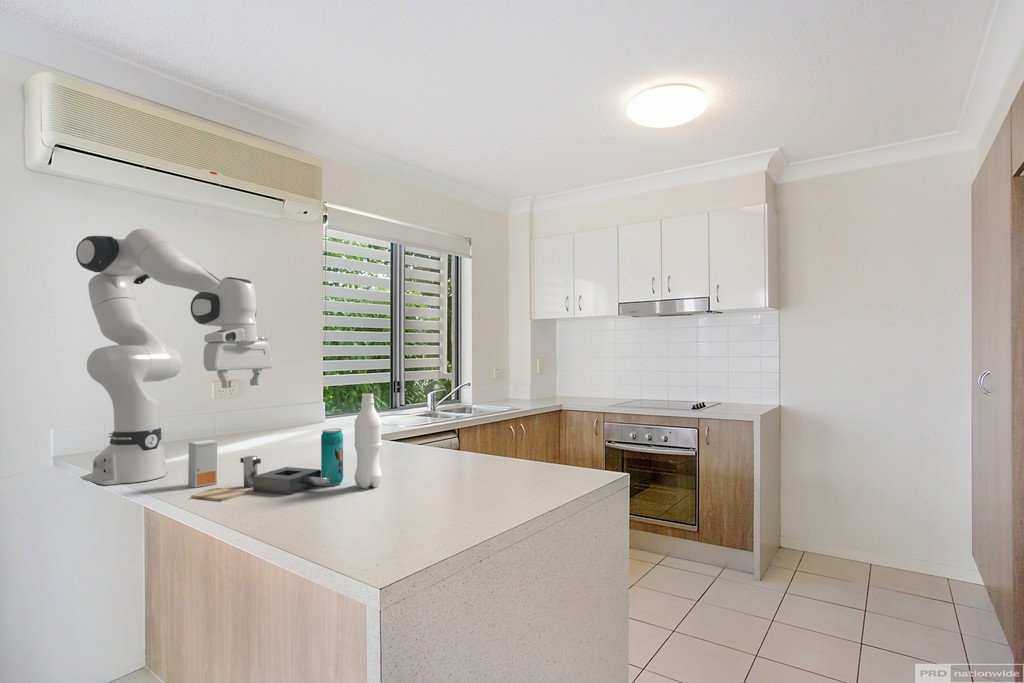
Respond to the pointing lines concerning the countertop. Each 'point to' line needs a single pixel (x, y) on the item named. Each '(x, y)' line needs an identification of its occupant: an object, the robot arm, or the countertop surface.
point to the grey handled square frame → (288, 480)
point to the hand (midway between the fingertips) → (240, 386)
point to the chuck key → (249, 469)
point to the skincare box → (202, 463)
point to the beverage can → (332, 455)
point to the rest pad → (219, 494)
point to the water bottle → (367, 444)
